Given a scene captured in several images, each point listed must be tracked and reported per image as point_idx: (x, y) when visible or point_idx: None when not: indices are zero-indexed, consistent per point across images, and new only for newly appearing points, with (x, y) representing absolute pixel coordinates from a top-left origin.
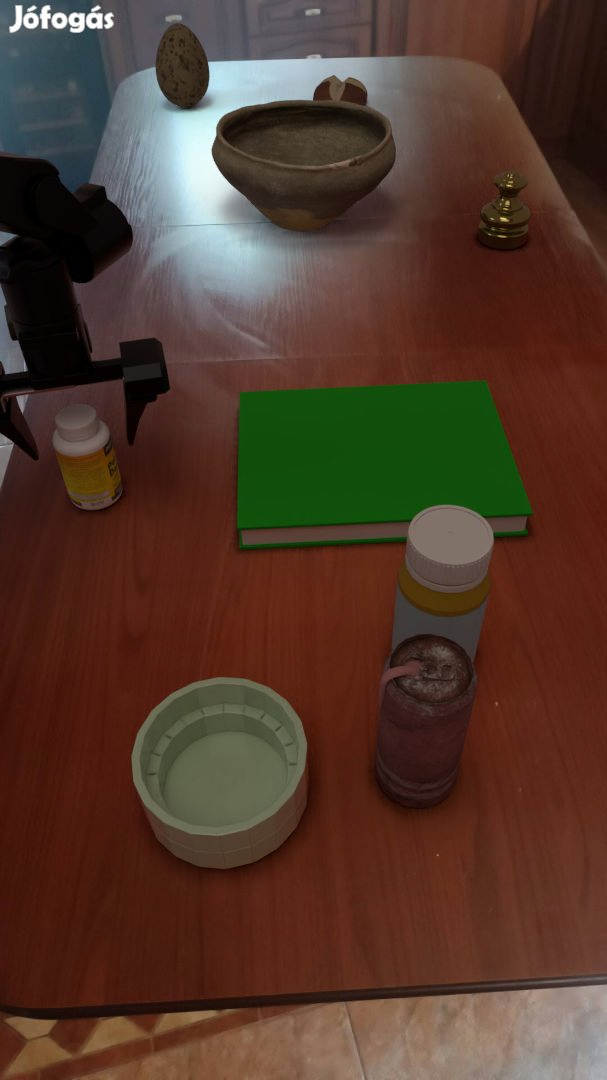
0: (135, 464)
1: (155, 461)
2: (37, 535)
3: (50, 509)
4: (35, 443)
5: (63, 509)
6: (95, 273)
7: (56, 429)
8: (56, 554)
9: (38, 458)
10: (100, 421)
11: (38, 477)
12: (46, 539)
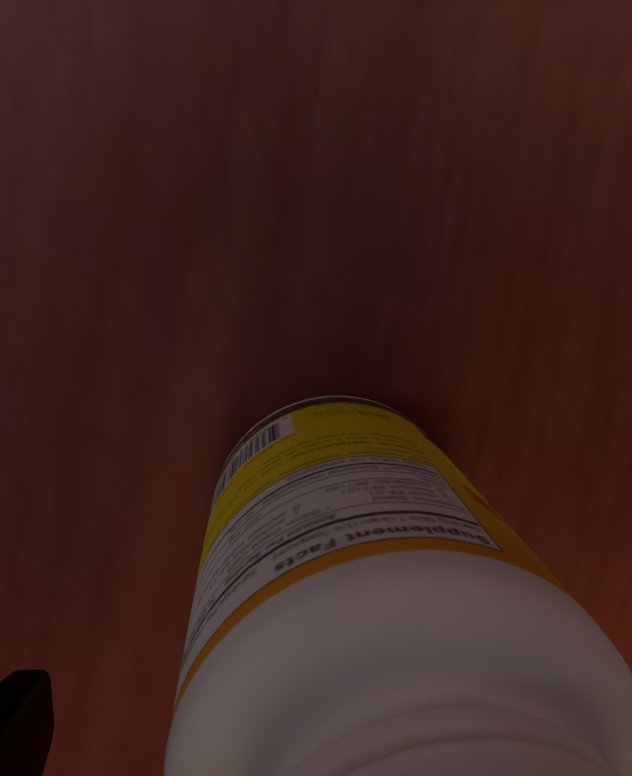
0: (521, 338)
1: (610, 341)
2: (79, 671)
3: (126, 540)
4: (7, 755)
5: (183, 552)
6: None
7: (206, 754)
8: (158, 770)
9: (50, 738)
10: (627, 721)
11: (55, 308)
12: (117, 696)
